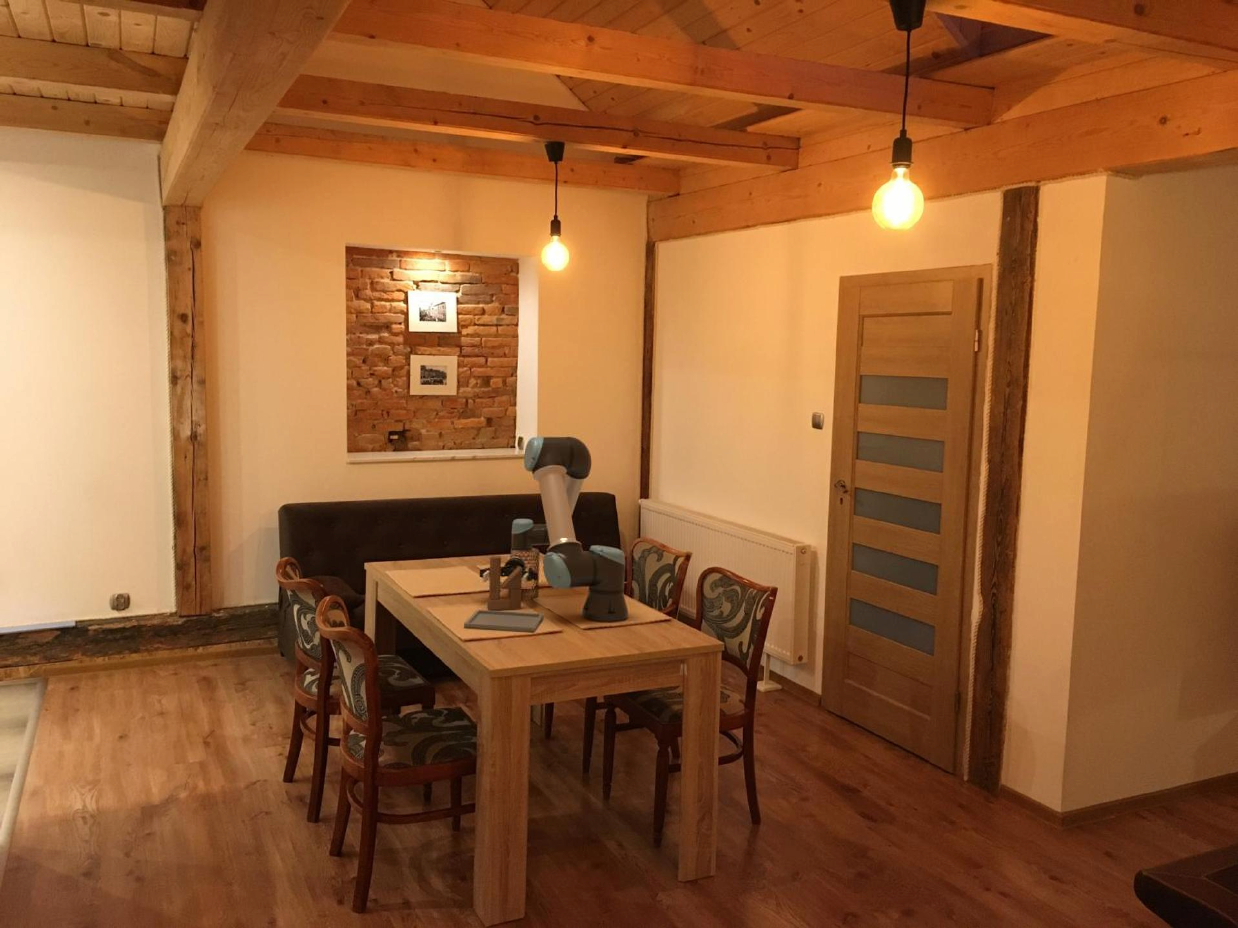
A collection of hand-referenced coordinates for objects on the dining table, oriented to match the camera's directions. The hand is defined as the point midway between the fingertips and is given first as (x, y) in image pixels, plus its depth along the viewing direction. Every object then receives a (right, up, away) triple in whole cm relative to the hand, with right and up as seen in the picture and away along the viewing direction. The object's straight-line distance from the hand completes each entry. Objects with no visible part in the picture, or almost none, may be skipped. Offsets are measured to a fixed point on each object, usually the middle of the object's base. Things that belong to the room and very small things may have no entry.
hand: (503, 579), depth 356 cm
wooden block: (0, -10, +1) cm, 10 cm away
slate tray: (+2, -12, -18) cm, 22 cm away
